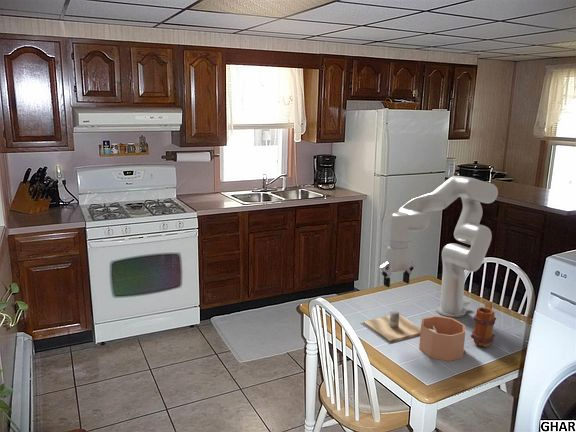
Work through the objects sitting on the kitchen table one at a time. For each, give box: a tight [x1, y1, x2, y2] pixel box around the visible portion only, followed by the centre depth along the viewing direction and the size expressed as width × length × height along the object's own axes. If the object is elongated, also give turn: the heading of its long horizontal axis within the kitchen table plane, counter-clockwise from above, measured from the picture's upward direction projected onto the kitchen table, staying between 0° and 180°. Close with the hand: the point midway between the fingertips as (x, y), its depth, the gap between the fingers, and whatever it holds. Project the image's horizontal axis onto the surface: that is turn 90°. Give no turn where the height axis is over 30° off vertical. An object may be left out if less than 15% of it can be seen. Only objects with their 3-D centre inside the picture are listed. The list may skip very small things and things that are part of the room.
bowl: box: [418, 315, 466, 362], centre depth 177 cm, size 16×16×10 cm
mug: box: [470, 301, 497, 347], centre depth 183 cm, size 15×8×15 cm, turn 148°
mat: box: [360, 321, 420, 345], centre depth 194 cm, size 20×20×1 cm
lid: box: [362, 310, 421, 343], centre depth 194 cm, size 18×18×7 cm
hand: (396, 284), depth 190 cm, fingers open, 9 cm apart
